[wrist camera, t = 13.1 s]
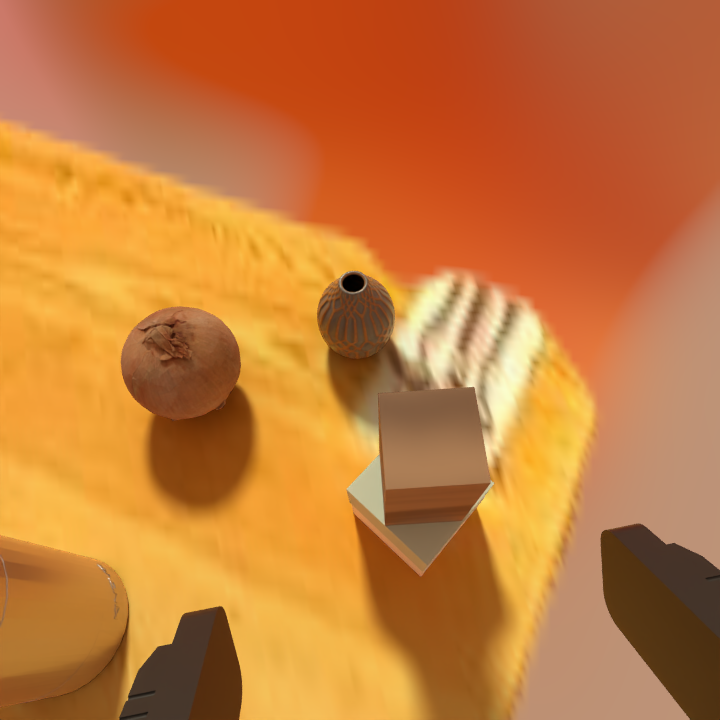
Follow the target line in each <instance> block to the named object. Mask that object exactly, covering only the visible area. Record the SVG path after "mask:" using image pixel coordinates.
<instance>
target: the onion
mask: <svg viewBox="0 0 720 720" xmlns="http://www.w3.org/2000/svg"><path fill="white" fill-rule="evenodd" d="M121 367H122V375H123V379H124V382H125V384H126V386H127V388H128V390H129V392H130V393H131V395H132V396H133V398H134V399H135V400H136V401H137V402H138V403H140V404H141V405H142V406H143V407H144V408H146V409H148V410H149V411H150V412H152V413H154V414H157V415H159V416H162V417H166V418H170V419H171V420H172V421H176V420H179V419H187V418H192V417H193V418H194V417H198V416H201V415H202V416H203V415H205V414H207V413H208V412H210V411H213V409H215V408H216V410H220V409H221V408H223V407H224V405H225V404H226V399H227V397H228V396H229V394H230V393H231V391H232V390H233V388H234V386H235V384H236V382H237V380H238V377H239V374H240V367H241V362H240V352H239V347H238V344H237V342H236V339H235V337H234V335H233V334H232V332H231V331H230V329H229V328H228V327H227V326H226V325H225V324H224V323H223V322H222V321H221V320H220V319H219V318H217V317H216V316H214V315H212V314H210V313H208V312H205V311H203V310H200V309H196V308H189V307H171V308H166V309H162V310H159V311H157V312H155V313H153V314H151V315H149V316H148V317H146V318H145V319H144V320H142V321H141V322H140V323H139V324H138V325H137V326H136V327H134V329H133V330H132V331H131V333H130V334H129V336H128V338H127V340H126V342H125V344H124V346H123V350H122V356H121Z"/></svg>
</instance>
